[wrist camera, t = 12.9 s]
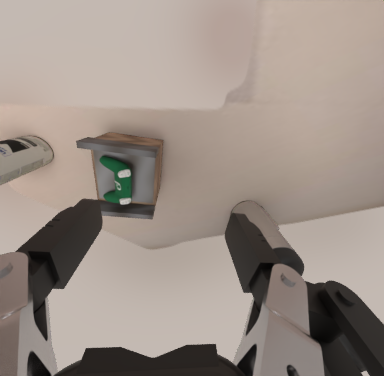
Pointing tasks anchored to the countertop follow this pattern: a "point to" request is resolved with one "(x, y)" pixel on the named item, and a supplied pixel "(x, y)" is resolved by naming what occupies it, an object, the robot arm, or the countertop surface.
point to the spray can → (22, 156)
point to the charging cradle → (140, 168)
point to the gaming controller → (118, 181)
